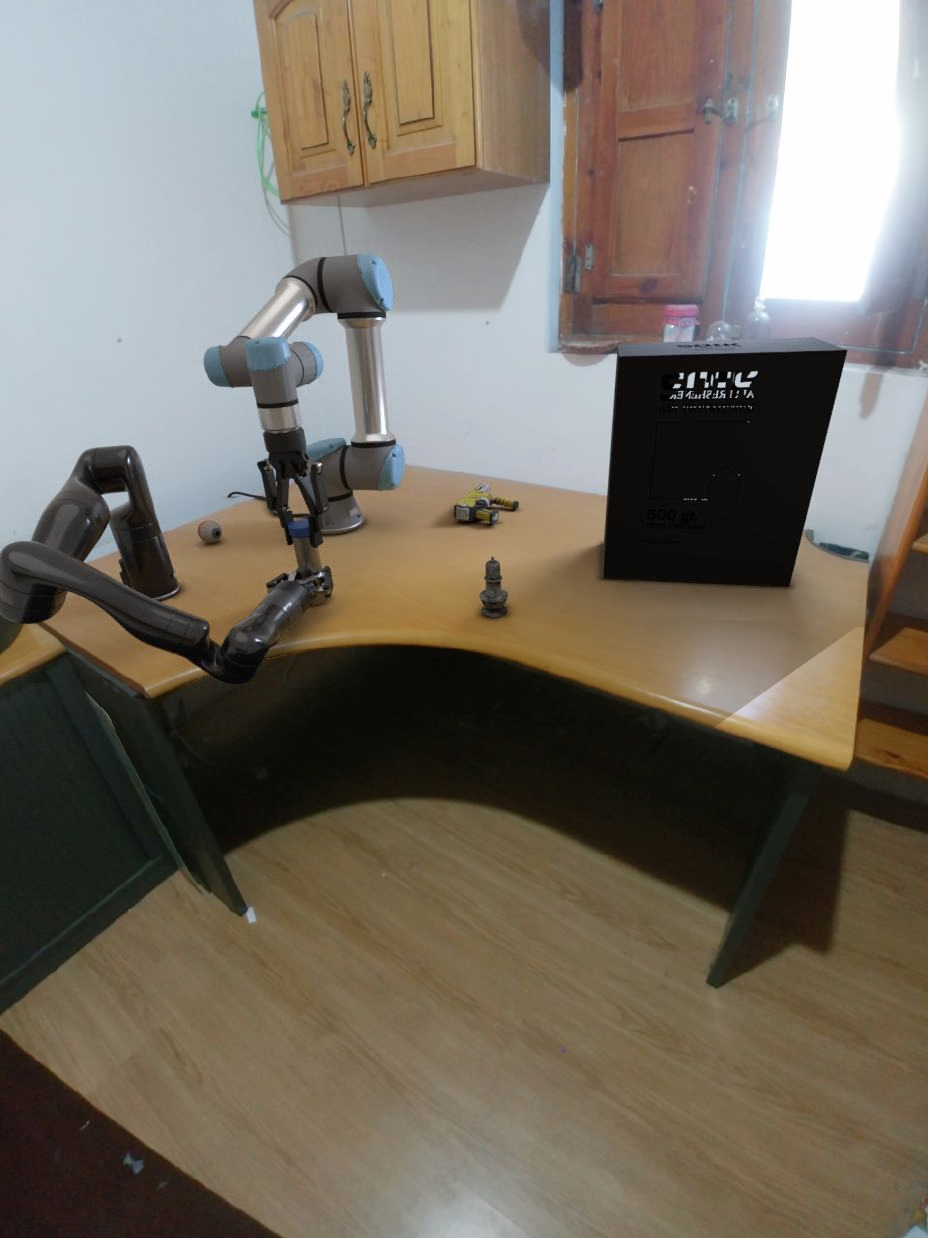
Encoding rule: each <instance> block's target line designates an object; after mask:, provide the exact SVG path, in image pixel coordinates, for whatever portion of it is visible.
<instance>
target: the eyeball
mask: <svg viewBox="0 0 928 1238" xmlns="http://www.w3.org/2000/svg"><path fill="white" fill-rule="evenodd" d="M222 534H223V529H222V527H221V525H220V524H219V523H218V522H217V521H215V520H212V519H207V520H204V521H202V522H201V523H200V524H199V525H198V527H197V535H198V538H199V539H201V540H202V541H203V542H205V543H208V544H213V543H216V542H218V541H219V540H220V539H221V538H222Z"/></svg>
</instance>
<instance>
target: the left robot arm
mask: <svg viewBox="0 0 928 1238" xmlns="http://www.w3.org/2000/svg"><path fill="white" fill-rule="evenodd" d="M118 493H127V496H128V500H127V501H125V502H124V503H122V504H120V505H118V506H116V507H114V508H112V509H110V507H109V505H108V503H107V501H106V500H105V498H104V496H103V495H109V494H118ZM157 516H158V515H157V513H156V510H155V505H154V500H153V497H152V494H151V490H150V487H149V484H148V479H147V474H146V471H145V467H144V464H143V460H142V458H141V455H140V454H139V451H137V450H136V448H135V447H134V446H132V445H131V444H130V445H128V444H120V445H107V446H97V447H91V448H87V449H85V450H84V451H83V452H82V453H81V454H80V455H79V456H78V458H77V461H76V462H75V465H74V466H73V469H72V471H71V473H70V475H69V477H68V478H67V480H66V481H65V483H64V484H63V486H62V487H61V489H59V491H58V493H57V494H55V496H54V497H53V498H52V499H51V500H50V502H49V503H48V504H47V505H46V507H45V508H44V510H43V512H42V513H41V515H40V517H39V519H38V521H37V523H36V526H35V528H34V530H33V532H32V536H31V538H30V540H18V541H13V542H10V543H8V544H6V545H5V546H4V547H3V548H2V549H1V550H0V616H1V617H2V618H4V619H6V620H7V621H9V622H11V623H14V624H18V625H19V624H20V625H34V624H39V623H43V622H46V621H49V620H50V619H52V618H53V617H55V616H56V615H57V614H58V613H60V611H61V609H62V608H63V607H64V605H65V601H66V599H67V595H68V592H69V593H71V594H74V595H77V596H79V597H82V598H84V599H86V600H88V601H89V602H91V603H92V604H94V605H95V606H97V607H99V608H100V609H101V610H103V611H104V612H105V613H106V614H107V615H109V616H110V617H111V618H112V619H113V620H114V621H115V622H116V623H117V624H118V625H119V626H120V627H121V628H123V629H124V630H125V632H127V633H128V634H130V636H131V637H134V638H135V639H136V640H138V641H139V642H140V643H143V644H145V645H147V646H150V647H152V648H154V649H157V650H160V651H164V652H166V653H170V654H171V655H176V656H178V657H181V658H183V659H185V660H187V661H189V663H191V664H193V665H194V666H196V667H197V668H199V669H200V670H202V671H203V672H205V673H207V674H208V675H209V676H211V677H213V678H214V679H216V680H218V681H219V682H222V683H225V684H229V685H242V684H247V683H248V682H250V681H251V680H252V679H253V678H254V677H255V675H256V674H257V671H258V670H259V668H260V666H261V664H262V662H263V661H264V659H265V657H266V655H267V654H268V652H269V651H270V649H271V648H273V647H275V646H276V645H277V644H278V643H279V642H280V641H281V640H282V639H283V638H284V637H285V635H286V634H287V633H288V632H289V631H290V630H292V628H294V626H295V625H296V624H297V623H298V622H299V621H300V619H301V618H302V617H303V616H304V614H305V613H306V612H307V610H308V609H309V608H310V606H311V605H310V602H311V600H312V599H314V598H316V597H317V595H325V597H326V598H328V599H329V598H331V597H332V594H333V590H334V586H335V585H334V581H333V575H332V569H331V567H330V566H329V565H324V567H322V570H321V572H320V573H319V574H318V575H316V576H314V575H312V576H310V577H309V578H307V579H305V580H301V578H300V574H299V569H298V567H297V568H296V569H295V570H294V571H291V572H289V573H290V574H288V573H287V572H282V573H280V574H279V575H278V576H276V577H274V578H273V579H271V580H270V581H268V582H267V583H265V586H266V590H267V594H266V595H265V596H264V598H263V599H261V601H260V602H259V604H257V605H258V606H256V608H254V610H253V611H252V612H251V613H250V614H249V615H248V616H247V617H244V618H243V619H241V620H240V621H239V622H236V623H235V625H234V626H233V627H232V628H231V629H230V630H229V631H228V633H226V635H225V637H224V639H223V641H222V643H221V644H218V642H216V641H215V640H213V638H211V636H210V633H211V624H210V623H209V621H208V620H206V619H204V618H203V617H200V616H198V615H196V614H192V613H190V612H187V611H184V610H182V609H179V608H176V607H174V606H172V605H168V604H166V603H163V602H161V601H164V600H167V599H170V598H173V597H174V596H176V595H177V594H178V593H179V592H180V591H181V586H180V583H179V582H178V578H177V573H178V571H177V569H176V568H174V565H173V564H172V562H173V561H172V560H171V556H170V553H169V550H168V547H167V544H166V540H165V538H164V534H163V532H162V529H161V526H160V522H159V519H158V517H157ZM108 526H109V528H110V531H111V533H112V536H113V540H114V541H115V544H116V547H117V549H118V552H119V556H120V558H119V559H118V564H119V567H120V569H121V571H119V572H118V574H119V577H120V579H121V581H119V580H118V579H116V578H114V577H112V576H110V575H108V574H107V573H105V572H103V571H101V570H99V569H98V568H95V567H94V566H92V565H90V564H88V563H86V562H85V561H86V559H87V558H88V557H89V556H90V554H91V552H92V551H93V549H94V548H95V547H96V545H97V543H98V542H99V541H100V539H101V538H102V536H103V535H104V533H105V532H106V529H107V528H108ZM319 579H320V583H319Z"/></svg>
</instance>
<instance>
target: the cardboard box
mask: <svg viewBox="0 0 928 1238" xmlns="http://www.w3.org/2000/svg"><path fill="white" fill-rule="evenodd" d="M848 351H849V350H848V349H847V348H844V347H841V346H838V345H836V344H833V343H830V342H828V341H824V340H822V339H819V338H816V337H813V336H812V337H809V336H808V337H787V338H786V337H785V338H784V337H783V338H753V339H752V338H750V339H749V338H748V339H721V340H719V339H717V340H691V341H690V340H688V341H660V342H631V343H630V342H629V343H628V342H627V343H625V342H624V343H617V348H616V361H615V362H616V363H615V376H614V377H615V378H614V379H615V380H614V391H613V404H612V405H613V406H612V408H613V409H612V418H611V419H612V421H611V434H610V435H611V437H610V449H609V462H608V463H609V464H608V476H607V477H608V478H607V489H606V490H607V492H606V504H605V506H606V507H605V521H604V533H603V534H604V535H603V559H602V560H603V561H602V562H603V566H602V573H603V574H602V579H606V580H612V579H613V580H630V581H631V580H632V581H650V582H651V581H655V582H677V583H697V584H698V583H699V584H720V585H721V584H722V585H723V584H724V585H742V586H767V587H768V586H769V587H787V588H789V587H790V586H791V582H792V578H793V573H794V569H795V566H796V562H797V558H798V557H797V556H798V554H799V550H800V546H801V541H802V538H803V534H804V529H805V525H806V521H807V517H808V514H809V509H810V505H811V501H812V497H813V493H814V488H815V485H816V480H817V476H818V472H819V468H820V464H821V461H822V456H823V452H824V447H825V444H826V440H827V436H828V431H829V428H830V423H831V419H832V415H833V411H834V408H835V403H836V399H837V395H838V391H839V387H840V382H841V379H842V375H843V371H844V367H845V363H846V359H847V354H848ZM753 372H757V373H756V375H754V376H751V377H749V376H750V375H751V373H753ZM702 373H706V377H701V375H702ZM717 373H718V374H717ZM729 373H730V375H729ZM681 374H682V376H683V377H682V378H681ZM692 374H694V378H693V384H692V385H693V386H692V387H688V382H689V377H690V376H691V375H692ZM739 374H740V380H739V383H740V384H741V383H742V384H743V383H750V384H748V386H737V385H736V378H737V376H738V375H739ZM723 383H725V385H724V387H719V384H723ZM706 384H708V385H707V387H706ZM675 385H680V386H679V387H675Z"/></svg>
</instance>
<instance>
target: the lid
mask: <svg viewBox="0 0 928 1238" xmlns="http://www.w3.org/2000/svg"><path fill="white" fill-rule="evenodd" d="M288 531H289V534H290V536H292V537H306V536H310V535H311V533H310V528H309V523H308V518H303V519H302V518H301V519H297V520H294V521H293V522H291V523H289V524H288Z"/></svg>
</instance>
